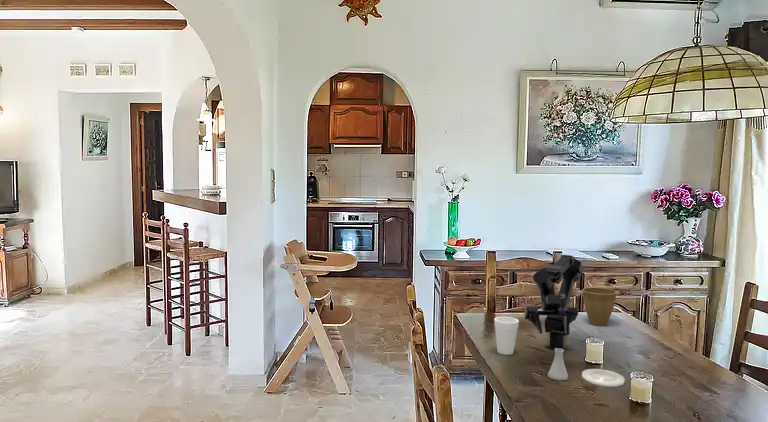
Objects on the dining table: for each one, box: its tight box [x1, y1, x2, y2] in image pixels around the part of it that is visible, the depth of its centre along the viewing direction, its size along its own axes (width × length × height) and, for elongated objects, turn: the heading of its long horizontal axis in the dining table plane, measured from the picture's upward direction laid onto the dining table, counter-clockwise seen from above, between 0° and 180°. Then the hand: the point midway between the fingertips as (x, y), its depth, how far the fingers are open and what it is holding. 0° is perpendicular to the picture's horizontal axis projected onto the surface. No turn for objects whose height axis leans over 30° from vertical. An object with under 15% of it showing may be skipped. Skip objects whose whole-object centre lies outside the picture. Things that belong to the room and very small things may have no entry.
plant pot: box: [582, 287, 618, 327], centre depth 267 cm, size 15×15×16 cm
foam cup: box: [493, 316, 520, 356], centre depth 225 cm, size 10×9×13 cm
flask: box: [547, 348, 569, 381], centre depth 200 cm, size 7×7×10 cm
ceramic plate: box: [581, 368, 626, 388], centre depth 199 cm, size 14×14×1 cm
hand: (554, 334), depth 206 cm, fingers open, 9 cm apart
